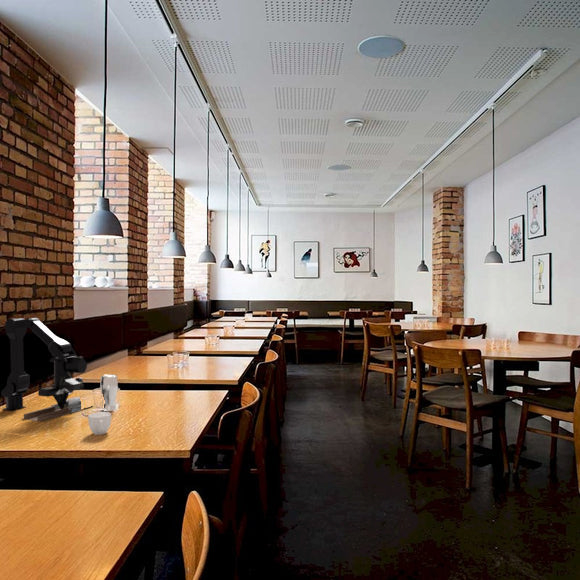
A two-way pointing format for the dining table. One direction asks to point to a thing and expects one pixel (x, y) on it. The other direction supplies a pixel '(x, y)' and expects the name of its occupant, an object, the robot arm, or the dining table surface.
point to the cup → (99, 422)
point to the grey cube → (70, 403)
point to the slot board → (50, 413)
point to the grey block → (77, 400)
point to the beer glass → (109, 391)
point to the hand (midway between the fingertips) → (61, 408)
